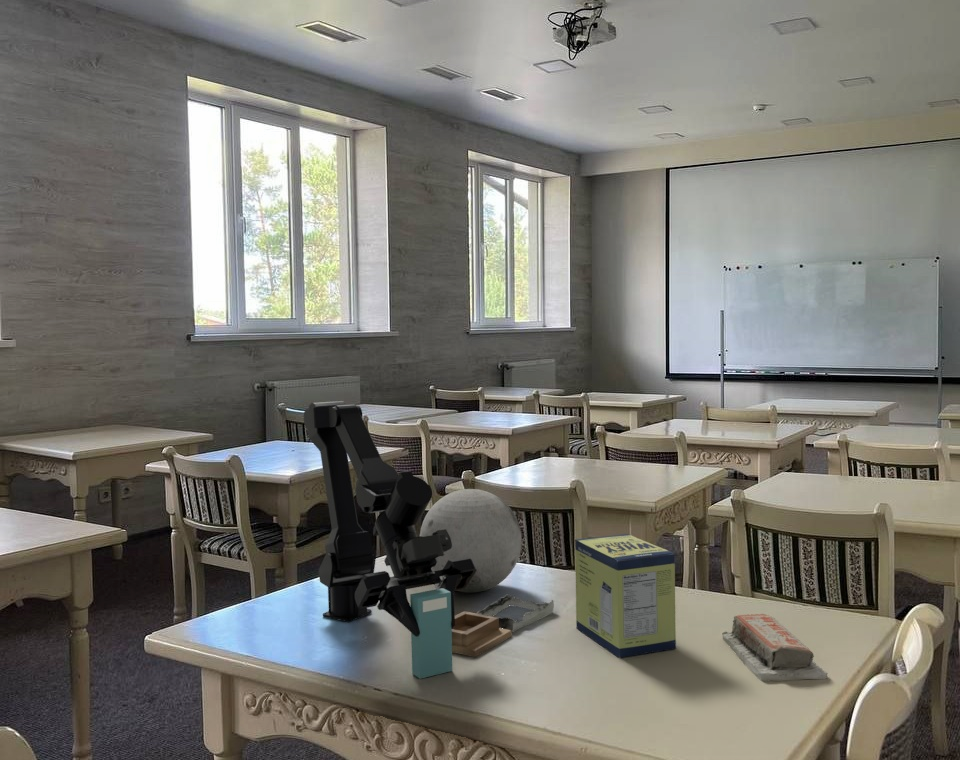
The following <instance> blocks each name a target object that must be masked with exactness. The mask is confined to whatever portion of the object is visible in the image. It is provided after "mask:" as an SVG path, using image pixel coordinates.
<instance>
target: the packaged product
mask: <svg viewBox="0 0 960 760" xmlns="http://www.w3.org/2000/svg"><path fill="white" fill-rule="evenodd" d="M722 640H723V641H724V643H726V645H728V646H730V647H729V648H730V650H731V651H732V652H733V651H734V652H735V653H736V654H735V653H734V652H733V653H734V654H735V655H736V656H737V658H738V659H739V660H740V659H741V660H740V661H741V662H742V663H743V664H744V665H745V666H746V667H747V668H748V670H749V671H751V673H752V674H754V675H755V677H757V679H758V680H760V681H761V682H768V680H769V682H771V681H770V680H777V681H797V680H798V681H799V680H800V681H801V680H825V679H827V678H828V672H827V671H825V670H824V669H823V667H822V666H820V665H819V664H817V663H816V662H815V661H813V660H814V658H815V655H814V653H813V651H812V650H811V649H809V648H808V647H807V645H805V644H804V643H803V642H802V641H801V640H800V639H799V638H797V637H796V636H795V635H794V634H792V632H791V631H789V629H787V628H786V627H785V626H784V625H783V624H781V623H780V622H779V621H778V620H777V619H776V618H775V617H773V616H771V615H769V614H768V615H767V614H765V613H759V614H758V613H755V614H737V615H734V616H733V620H732V631H731V632H727V631H724V632H722ZM763 680H764V681H763ZM766 680H767V681H766Z"/></svg>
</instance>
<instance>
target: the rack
mask: <svg viewBox="0 0 960 760" xmlns="http://www.w3.org/2000/svg"><path fill="white" fill-rule="evenodd" d="M499 618H500V617H496V616H493V617H492V616H486V615H481V614H477V612H476V613H475V612H470V611H462V612H460V613H458V614H455V627H454V628H453V629H452V653H455V654H460V655H465V656H469V657H472V658H473V657H474V658H476V657H478V656H479V655H481V654H483V653H485V652H486V651H488V650H490V649H491V648H493V646H494V647H495V646H497V645H499V644H501V643H502V642H504V641H506V640H508V639H509V638H511V637H512V633H513V632H512V631H511V630H507V629H502V628H499ZM500 642H501V643H500ZM484 651H485V652H484Z"/></svg>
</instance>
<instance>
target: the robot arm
mask: <svg viewBox="0 0 960 760" xmlns="http://www.w3.org/2000/svg"><path fill="white" fill-rule="evenodd" d="M303 423H304V426H305V428H306V429H307V433H308V434H307V435H308V438H309V441H311V442H312V444H313V445H314V446H315V447H316V449H318V451H319V452H320V453H319V454H320V459H321V466H322V472H323V478H324V479H323V480H324V485H325V491H326V500H327V504H328V505H327V506H328V513H329V519H330V525H331V526H330V527H331V531H330V533H329V536H328V538H327V540H326V543H325V547H324V548H325V550H324V551H325V556H324V558H323V559H322V562H321V563H320V566H319V568H318V577H319V583H320V584H322V585H324V586H326V587H327V595H328V596H327V597H328V598H327V599H328V603H327V604H328V611H325V612H323V613H322V617H323V618H329V619H334V620H338V621H341V622H342V621H343V622H347V623H349V622H352V621H354V620H358V619H360V618H362V617H365V616H366V615H368V614H372V611H373V610H372V609H370V608H373V607H376V606H377V610H379V611H382V610H384V611H385V612H386V613H388V614H389V615H391V616H392V617H393V618H395V620H397V621H398V622H399V623H400V624H401V625H403V627H405V628H406V629H407V630H408V631H409V632H410V634H411V633H412V634H413V635H415V636H416V637H417V636H419V634H420V630H419V627H418V623H417V621H416V618H415V616H414V614H413V611H412V609H411V603H410V602H409V600H408V596H407V590H410V589H415V588H420V587H421V588H422V587H427V586H431V585H433V586H434V588H435V589H441V588H444V589H446V590H448V591H450V592H451V628H452V629H453V628H454V627H455V615H456V614H455V591H456V590H461V589H463V588H465V587H466V586H467V585H468V583H469V582H470V580H471V578H472V577H473V575H474V574H475V572H476V571H477V569H476V566H475V564H474V562H473V560H472V559H471V558H468V557H463V558H458V559H452V560H448V562H447V563H446V565H445V566H444V568H443V570H438V571H432V569H431V568H432V567H434V566H435V565H436V563H437V561H436V558H437V557H439V556H444V552H445V551H448V550H449V549H451V548H452V542H451V538H450V536H449V534H448V532H447V530H446V529H443V530H437V531H436V532H434V533H432V535H431V536H425V537H423V536H420V535H418V533H417V531H416V528H415V525H416V524H418V523H419V522H420V520H421V519H422V517H423V514H424V513H425V512H426V509H427V508H428V505H429V504H430V501H431V500H432V497H433V489H432V487H431V485H430V484H429V483H427V482H426V481H425V480H424V479H423V478H421V477H419V476H414V474H413V472H412V470H407V471H400V472H398V471H397V469H396V468H395V467H394V466H391V464H389V463H387V462H385V461H384V460H383V458H382V456H381V455H380V452H379V450H378V448H377V446H376V444H375V442H374V439H373V438H372V435H371V433H370V431H369V429H368V428H367V427H368V426H367V425H366V422H365V421H364V418H363V411H362V407H361V406H360V405H357V404H353V403H352V404H347V403H346V402H345V401H344V400H338V401H336V400H335V401H321V402H320V401H319V402H311V403H310V404H309V406H308V408H306V409H304V412H303ZM349 460H350V462H351V465H352V467H353V470H354V472H355V475H356V479H357V481H356V484H355V489H354V488H353V483H352V482H353V481H352V477H351V470H350V465H349ZM353 489H354V490H353ZM354 491H355V495H354ZM355 496H356V497H355ZM355 498H356V501H355ZM355 502H356V503H357V504H358V506H359V507H360V508H361V510H362V512H364V513H368V514H373V513H379V512H380V513H379V514H378V515H377V517H376V519H375V522H374V526H373V528H372V529H373V530H372V534H373V535H372V536H373V537H377V536H378V537H379V540H380V542H381V546H382V547H383V551H384V553H385V556H386V557H385V558H384V559H383V561H384V564H385V566H386V567H388V566H389V567H390V570H391V571H392V574H393V576H390V574H389V572H387V571H385V570H382V571H376V572H375V566H376V559H377V558H376V557H377V556H376V553H375V551H374V548H373V546H372V545H373V544H372V536H371V534H370V532H369V531H368V530H367V531H366V530H364V529H363V528H362V527H361V525H360V524H359V521H358V514H357V509H356V503H355Z"/></svg>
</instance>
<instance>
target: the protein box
mask: <svg viewBox="0 0 960 760" xmlns="http://www.w3.org/2000/svg"><path fill="white" fill-rule="evenodd" d="M574 542H575V544H574V548H575V549H574V551H575V552H574V553H575V555H574V556H575V612H576V613H575V615H576V616H575V617H576V619H575V620H576V629H577V630H578V631H580V632H581V633H583V635H586V636H587V637H588V638H590V639H592V641H594V642H595V643H597V644H598V645H599V646H601V647H603V648H604V649H606V650H607V651H608V652H610V653H611V654H613V655H614V656H616V657H617V658H619V657H620V658H621V657H622V658H625V657H631V656H638V655H645V654H651V653H656V652H664V651H669V649H670V650H674V649H677V639H676V633H677V632H676V571H675V570H676V566H675V565H676V564H675V561H676V559H675V553H674V552H673V551H670V550H668V549H665V548H662V547H660V546H658V545H655V544H652V543H651V542H648V541H645V540H643V539H640V538H638V537H636V536H634V535H631V534H629V533H624V534H614V535H606V536H597V537H596V536H595V537H588V538H576V539H574ZM663 650H664V651H663Z"/></svg>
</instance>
